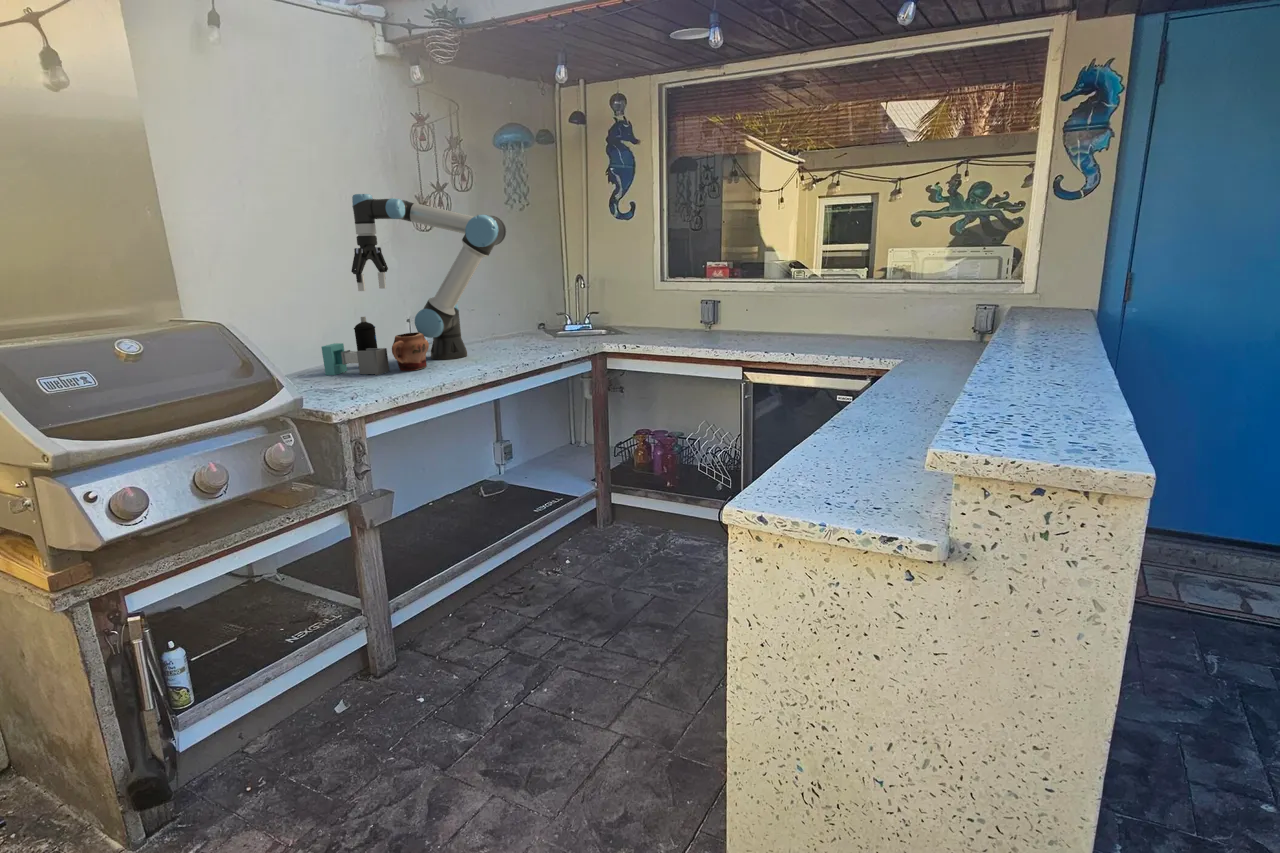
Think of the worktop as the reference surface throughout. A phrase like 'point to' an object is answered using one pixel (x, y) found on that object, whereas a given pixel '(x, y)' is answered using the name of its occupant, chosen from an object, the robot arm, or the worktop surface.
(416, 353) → the decorative planter
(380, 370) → the sleeve
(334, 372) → the socket block
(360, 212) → the robot arm
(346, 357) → the grey square peg
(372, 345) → the aerosol can
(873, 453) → the worktop surface
